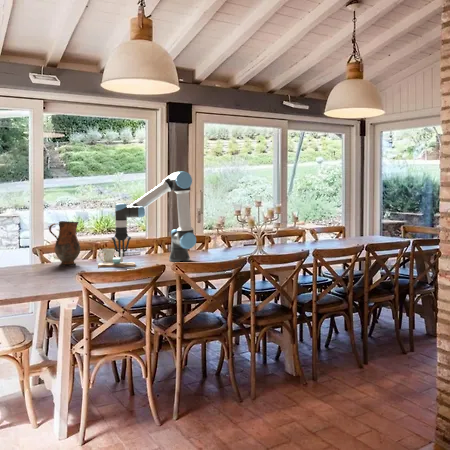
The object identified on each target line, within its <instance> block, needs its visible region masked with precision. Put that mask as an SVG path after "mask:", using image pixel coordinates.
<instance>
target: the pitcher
mask: <svg viewBox="0 0 450 450" xmlns="http://www.w3.org/2000/svg"><path fill="white" fill-rule="evenodd" d="M78 224H79V222H78V221H66V220H64V221H63V220H61V221H58V227H59V228H58V229H59V231H58V235H56V234H55V233H53V232H52V228H53V226H55V225H56V223H51V224H50V226H49V227H48V231H49V233H50V234H51V235H52V236H53V237H55V239H56V241H55V243H54V254H55V255H56V257H57V259H58V260H60V261H61V263H59V266H60V267H71V266H76V265H77V263H76V262H75V260H76V259H78V257H79V255H80V253H81V244H80V241H79V239H78V235H77V228H78Z"/></svg>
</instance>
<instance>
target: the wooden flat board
mask: <svg viewBox="0 0 450 450" xmlns="http://www.w3.org/2000/svg"><path fill="white" fill-rule="evenodd" d="M122 267H123V268H124V267H125V268H127V267H129V268H130V267H132V268H133V267H136V262H120V264H114V262H111V263H105V262H99V263H97V269H100V268H122Z"/></svg>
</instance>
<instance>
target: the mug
mask: <svg viewBox="0 0 450 450" xmlns="http://www.w3.org/2000/svg"><path fill="white" fill-rule="evenodd" d="M115 252H116V249H115V248H102V251H101V250H100V251H99V252H98V253H97V258H98V260H100V261H101V262H103V263H114V262H113V258H115ZM101 254H102V256H103V257H102V258H101V257H100V255H101Z"/></svg>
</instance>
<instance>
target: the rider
mask: <svg viewBox="0 0 450 450" xmlns="http://www.w3.org/2000/svg"><path fill="white" fill-rule="evenodd" d="M112 263H114V264H120V263H121V262H120V257H114V258H113V262H112Z"/></svg>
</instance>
